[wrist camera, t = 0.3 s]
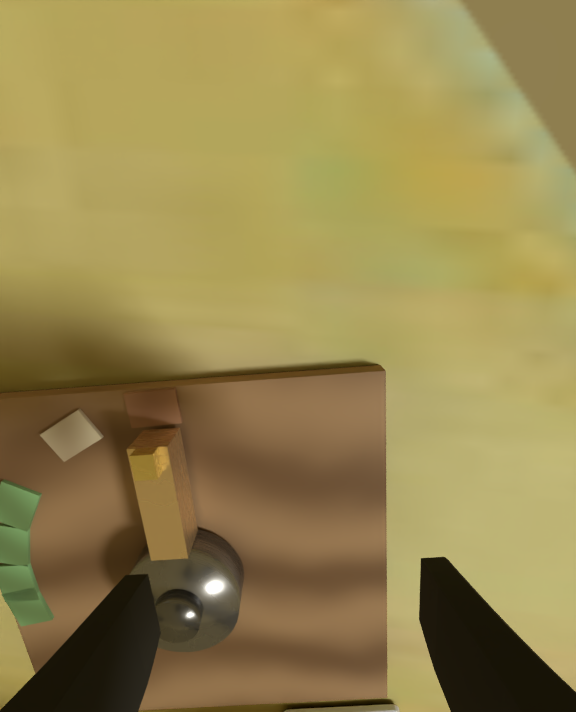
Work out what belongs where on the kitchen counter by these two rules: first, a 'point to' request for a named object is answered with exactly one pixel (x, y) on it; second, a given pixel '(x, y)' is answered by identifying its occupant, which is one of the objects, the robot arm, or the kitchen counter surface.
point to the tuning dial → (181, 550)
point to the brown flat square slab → (212, 524)
